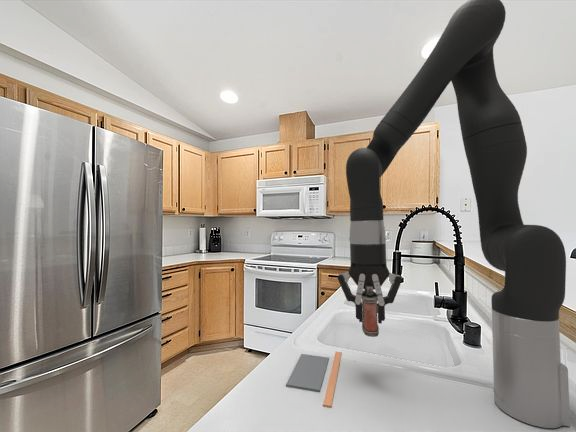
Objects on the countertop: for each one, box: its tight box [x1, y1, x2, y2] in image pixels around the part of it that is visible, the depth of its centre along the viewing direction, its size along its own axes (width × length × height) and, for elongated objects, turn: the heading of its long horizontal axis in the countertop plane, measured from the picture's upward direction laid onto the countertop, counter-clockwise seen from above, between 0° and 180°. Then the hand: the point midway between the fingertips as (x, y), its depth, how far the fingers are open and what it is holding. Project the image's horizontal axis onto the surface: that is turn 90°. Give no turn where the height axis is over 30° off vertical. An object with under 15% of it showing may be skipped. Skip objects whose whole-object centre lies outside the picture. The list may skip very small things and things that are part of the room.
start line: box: [322, 351, 342, 408], centre depth 60 cm, size 2×22×1 cm, turn 164°
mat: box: [285, 353, 330, 393], centre depth 61 cm, size 7×14×1 cm, turn 164°
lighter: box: [361, 286, 380, 338], centre depth 59 cm, size 8×3×10 cm, turn 168°
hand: (370, 321), depth 59 cm, fingers closed on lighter, 3 cm apart
